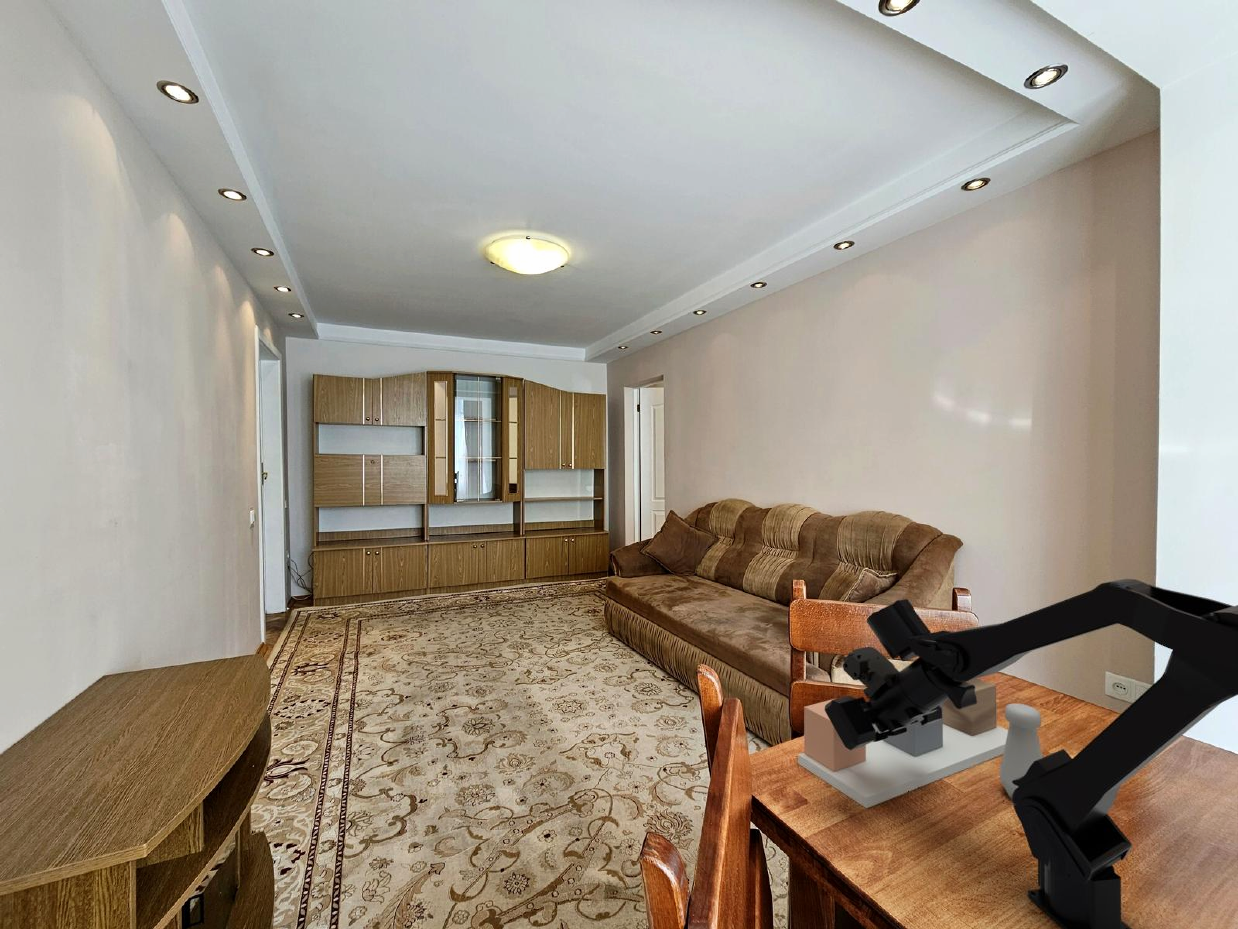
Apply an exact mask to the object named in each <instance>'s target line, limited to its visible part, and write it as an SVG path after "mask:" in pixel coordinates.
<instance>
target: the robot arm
mask: <svg viewBox="0 0 1238 929" xmlns="http://www.w3.org/2000/svg"><path fill="white" fill-rule="evenodd" d="M865 623H867V625H868V627H870V630H872V632H873V633H874V635H875V637H876V638H877V640H878V641H879V642H880V643H881V645H882V646H883V647H882V648H884V650H885V651H886V653H887V654H888V655H889V657H890V658H891V659H892V660H895V659H897V658H899V659H900V660H901V661H902V662H906V661H910V660H912V659H915V658H916V659H915V660H913V662H911V663H909V664H908V665H907V666H906V667H904V668H903V669H902V670H900V671H899V670H898V669H897V668H896V667H895V665H894V663H893V662H891V661H890V660H889V659H888V658H887V657H885V655H883V654H882V653H881V652H880V651H879V650H878V649H877V648H874V647H872V646H865V647H860V648H856V649H853V650H852V652H848V655H846V656H844V657H843V658H842V660H843V664H842V669H843V672H845V673H846V674H847V675H848V676H849V677H850V678H851V679H852V680H853V681H859V682H860V683H862V685H864V687H866V688H864V689H863V690H862V692H863V694H864V695H865V696H866V698H867V699H868V700H869V701H866V699H865V697H863V696H861V697H858V698H855V697H853V696H851V695H846V696H841V697H839V698H833V699H834V700H832V699H831V700H832V701H830V702H829V703H828V704H827V705H825V712H826V714H827V716H828V717H829V719H830V721H831V723H832V724H833V726H834V728H835V730H836V732H837V733H838V735H839V737H840V739H841V740H842V742H843V744H844V746H845V747H846V748H848V749H849V750H853V749H856V748H859V747H862V746H865V745H867V744H869V743H871V742H877V741H881V740H884V739H887V738H888V736H896V735H899V734H902V733H905V732H907V728H906V727H908V726H911V725H914V724H916V723H917V722H918V720H917V719H918V718H920V717H923V718H924V720H922V721H920V724H921V725H922V727H924V726H927V725H930V724H933V723H935V722H936V721H938V720H940V719H941V718H942V709H941V707H940V706H939V705H940V704H942V703H943V702H945V701H946V700H948V699H950V700H951V701H952V703H953V704H954V706H955V707H956V708H957V709H963V708H966V707H969V706H972V705H975V704H977V698H976V694H975V686H974V685H972V684H969V683H967V682H966V681H969V680H973V679H979V678H980V679H981V678H983V677H986V676H987V677H988V676H990V675H994V674H997V673H1000V672H1001V671H1003V670H1004V669H1006V668H1008V667H1009V666H1011V665H1013V664H1014V663H1016V662H1018V661H1019V660H1020V659H1022V658H1023V657H1025V656H1026V655H1028V654H1030V653H1031V652H1033V651H1037V650H1039V649H1043V648H1046V647H1049V646H1052V645H1055V644H1059V643H1062V642H1065V641H1068V640H1071V639H1074V638H1076V637H1080V636H1081V637H1082V636H1083V635H1087V634H1090V633H1093V632H1096V631H1100V630H1103V629H1105V628H1109V627H1112V626H1113V627H1114V626H1116V625H1121V626H1124V627H1127V628H1129V629H1131V630H1133V631H1135V632H1137V633H1138V634H1140V635H1142V636H1144V637H1146V638H1147V639H1149V640H1151V641H1153V642H1154V643H1156V644H1158V645H1160V646H1162V647H1164V648H1166V649H1169V650H1171V652H1170V655H1169V658H1168V661H1167V664H1166V667H1165V670H1164V672H1163V674H1162V675H1161V676H1160V678H1159V679H1157V680H1156V682H1154V683H1153V684H1152V685H1151V686H1150V687H1149V688H1148V689H1146V691H1144V692H1143V693H1142V694H1141V695H1140V696H1139V697H1138V698H1137V699H1136V700H1135V701H1134V702H1133V703H1131V705H1129V706H1127V708H1126V709H1125V710H1124V711H1122V713H1120V715H1118V716H1117V717H1116V718H1115V719H1114V720H1113V721H1112V722H1110V723H1109V724H1108V726H1106V727H1105V728H1104V729H1103V730H1102V731H1101V732H1100V733H1098V734H1097V735H1096V736H1095V737H1094V738H1093V739H1092V740H1091V741H1090V742H1089V743H1088V744H1087V745H1086V746H1084V748H1083V749H1081V750H1080V751H1079V752H1078V753H1077V754H1075V756H1074V757H1073V758H1072V756H1070V754H1069V753H1068V752H1067V751H1066V749H1064V748H1062V749H1059V750H1057V751H1054V752H1052V753H1050V754H1047V755H1046V756H1043V758H1040V759H1038V760H1036V761H1034V762H1033V764H1032V765H1031V766H1030V767H1029V769H1028V771H1027V772H1026V774H1025V775H1024V776H1022V777H1020V778H1017V779H1015V780H1013V781H1012V783H1013V784H1014V785H1016V786H1018V788H1016V789H1015V790H1014V792H1013V794H1012V798H1010V800H1011V803H1012V804H1013V809H1014V811H1015V813H1016V814H1015V815H1016V816H1017V818H1018V820H1019V821H1020V823H1021V826H1022V829H1023V832H1024V835H1025V839H1026V841H1027V844H1028V846H1029V847H1028V848H1029V849H1030V852H1031V856H1032V857H1033V858H1034V859H1035V860H1037V885H1038V887H1039V888H1037V889H1028V890H1027V897H1028V898H1029V899H1030V900H1031V901H1032V902H1034V903H1035V904H1036V905H1037V906H1038V908H1040V909H1041V910H1042V911H1043V912H1044V913H1045V914H1047V916H1049V917H1050V919H1051V920H1053V921H1054V922H1055V923H1056V924H1058V925H1059V927H1061V928H1062V929H1132V928H1131V927H1130V926H1129V925H1128V924H1127V923H1125V922H1124V921H1123V920H1122V877H1121V876H1120V875H1118V874H1117V873H1116V872H1115V868H1114V866H1113V865H1115V864H1116V863H1118V862H1119V861H1123V860H1125V859H1126V857H1127V856H1128V855H1129V853H1130V851H1131V849H1132V847H1133V845H1132V843H1131V841H1130V839H1129V838H1128V837H1127V836H1126V835H1125V834H1124V832H1123V831H1122V830H1121V828H1119V826H1118V825H1117V824H1116V823H1115V821H1114V820H1113V819H1112V818H1111V817H1110V814H1108V813H1109V811H1110V809H1111V808H1112V807H1113V805H1114V803H1115V801H1116V798H1117V795H1118V792H1119V789H1120V788H1121V787H1122V785H1123V784H1125V783H1127V781H1129V780H1130V779H1131V778H1132V777H1133V776H1134V775H1136V774H1137V773H1138V772H1140V771H1141V770H1142V769H1143V768H1145V767H1146V766H1147V765H1148V764H1149V763H1150V762H1152V761H1153V760H1154V759H1155V758H1157V757H1158V756H1159V755H1160V754H1162V752H1163V751H1165V750H1166V749H1167V748H1169V747H1170V746H1172V744H1174V743H1175V742H1176V741H1177V740H1179V738H1180V737H1182V736H1183V735H1184V734H1186V733H1187V732H1188V731H1190V730H1191V729H1192V728H1193V727H1194V726H1195V725H1197V724H1198V723H1199V722H1200V721H1201V720H1203V718H1205V717H1206V716H1207V715H1209V714H1210V713H1211V712H1212V711H1213V710H1215V709H1216V708H1217V707H1218V706H1219V705H1221V704H1222V703H1224V702H1226V701H1228V700H1230V699H1233V698H1235V697H1236V696H1238V604H1237V605H1231V604H1230V603H1229V604H1228V603H1224V602H1221V601H1219V600H1215V599H1211V598H1207V597H1202V596H1198V595H1194V594H1189V593H1186V592H1180V591H1176V590H1170V589H1167V588H1162V587H1159V586H1156V585H1153V584H1149V583H1146V582H1143V581H1141V580H1138V579H1134V578H1133V579H1132V578H1123V579H1118V580H1113V581H1108V582H1107V581H1106V582H1103V583H1102V582H1101V583H1100V584H1098V585H1096V587H1094V588H1093V589H1091V590H1089V591H1086V592H1083V593H1080V594H1077V595H1075V596H1072V597H1069V598H1067V599H1065V600H1061V601H1059V602H1055V603H1053V604H1050V605H1048V606H1046V607H1043V608H1040V609H1037V610H1034V611H1032V612H1029V613H1026V614H1023V615H1021V616H1019V617H1016V618H1012V619H1010V620H1007V621H1004V622H1002V623H993V624H987V625H982V626H976V627H969V628H965V629H960V630H956V631H953V630H952V631H950V630H945V629H944V630H939V631H934V632H931V630H930V629H929V628H928V626H927V625H926V624H925V622H924V621H923V620H922V618H921V617H920V616H919V615H918V613H917V612H916V610H915V608H914V606H913V604H912V603H911V602H910V601H909V599H908V598H902V599H897V600H895V601H894V602H893V603H892V604H889V605H887V606H885V607H882V608H881V609H879V610H878V611H874V612H872V613H871V614H870V615H869V616H868V617H867V619H866V622H865ZM917 657H918V658H917Z"/></svg>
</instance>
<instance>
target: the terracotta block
mask: <svg viewBox="0 0 1238 929" xmlns="http://www.w3.org/2000/svg"><path fill="white" fill-rule="evenodd" d="M834 699H835V698H831V699H830V700H829V699H828V700H824V701H821V702H818V703H817V702H816V703H814V704H813V703H812V704H810V705H806V706H804V707H803V715H804V716H803V718H804V719H803V722H804V723H803V724H804V725H803V727H804V728H803V729H804V730H803V734H804V735H803V736H804V737H803V738H804V742H803V743H804V747H803V748H804V749H803V750H804V752H803V753H805V754H806V755H808V756H810V757H811V758H813V759H814V760H816V761H818V762H819V763H821V764H822V765H824V766H826V767H827V768H829V769H830V770H832V771H837V770H840V769H843V768H846V767H849V766H852V765H855V764H857V763H860V762H863V761H866V745H865V746H862V747H859V748H856V749H853V750H849V749H848V748H846V747H845V746H844V744H843V742H842V740H841V739H840V737H839V735H838V733H837V732H836V730H835V728H834V726H833V724H832V723H831V721H830V719H829V717H828V716H827V714H826V712H825V705H827V704H828V703H829V702H830V701H832V700H834Z"/></svg>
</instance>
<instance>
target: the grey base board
mask: <svg viewBox="0 0 1238 929" xmlns="http://www.w3.org/2000/svg"><path fill="white" fill-rule="evenodd" d="M1007 734H1008V729H1006V728H1004V727H1002V726H999V725H997V727H996V728H994V729H991V730H988V731H985V732H982V733H980V734H977V735H974V736H971V735H969V734H966V733H964V732H962V731H959V730H957V729H955V728H952V727H950V726H948V725H945V724H943V747H941V748H938V749H935V750H932V751H929V752H927V753H924V754H921V755H918V756H913V755H911V754H909V753H907V752H905V751H903V750H901V749H899V748H897V747H895V746H893V745H891V744H889V743H887V742H885V741H883V740H881V741H877V742H871V743H869V744H867V745H866V761H863V762H860V763H857V764H855V765H852V766H849V767H846V768H843V769H840V770H837V771H832V770H830V769H829V768H827V767H826V766H824V765H822V764H821V763H819V762H818V761H816V760H814V759H813V758H811V757H810V756H808V755H806V754H805V753H804V752H801V753H799V754H798V756H797V758H798V759H797V760H798V764H799V765H800V766H801V767H803V768H804V769H806V770H807V771H809V772H811V773H812V774H813V775H815V776H816V777H818V778H819V779H821V780H823V781H824V782H825V783H827V784H828V785H830V786H832V787H833V788H834V789H837V790H838V791H839V792H841V793H842V794H844V795H845V796H846V797H848V798H850V799H851V800H853V801H854V802H856V803H857V804H859V805H861V806H862V807H863V808H865V809H868V808H871V807H873V806H876V805H879V804H882V803H883V802H886V801H888V800H891V799H894V798H897V797H899V796H902V795H904V794H907V793H909V792H911V791H913V790H916V789H918V787H919V788H922V787H924V786H926V785H929V784H931V783H934V782H936V781H939V780H942V779H944V778H946V777H949V776H952V775H955V774H956V773H957V774H958V773H959V772H961V771H964V770H966V769H969V768H971V767H974V766H976V765H980V764H982V763H984V762H987V761H989V760H991V759H994V758H997V757H999V756H1001V755H1002V756H1003V754H1004V749H1005V744H1006V739H1007ZM908 791H909V792H908Z"/></svg>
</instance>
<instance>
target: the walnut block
mask: <svg viewBox="0 0 1238 929" xmlns="http://www.w3.org/2000/svg"><path fill="white" fill-rule="evenodd" d="M966 682H967V683H969V684H972V685H974V686H975V694H976V698H977V704H975V705H972V706H969V707H966V708H963V709H957V708H956V707H955V706H954V704H953V703H952V701H951V700H950V699H948V700H946V701H945V702H943V724H945V725H948V726H950V727H952V728H955V729H957V730H959V731H962V732H964V733H966V734H969V735H971V736H974V735H977V734H980V733H982V732H985V731H988V730H991V729H994V728H996V727H997V726H998V725H997V684H995V683H991V682H988V681H985V680H982V679H979V678H977V679H973V680H969V681H966Z"/></svg>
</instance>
